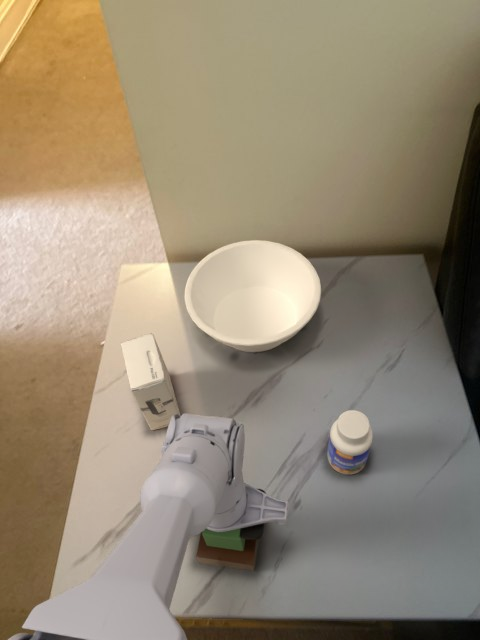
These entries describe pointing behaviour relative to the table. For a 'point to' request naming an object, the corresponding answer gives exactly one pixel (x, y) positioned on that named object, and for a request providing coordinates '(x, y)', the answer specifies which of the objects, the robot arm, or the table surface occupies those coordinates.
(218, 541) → the green cube
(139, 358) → the ink box
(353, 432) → the pill bottle
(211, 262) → the bowl
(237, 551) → the walnut block
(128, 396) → the table surface
